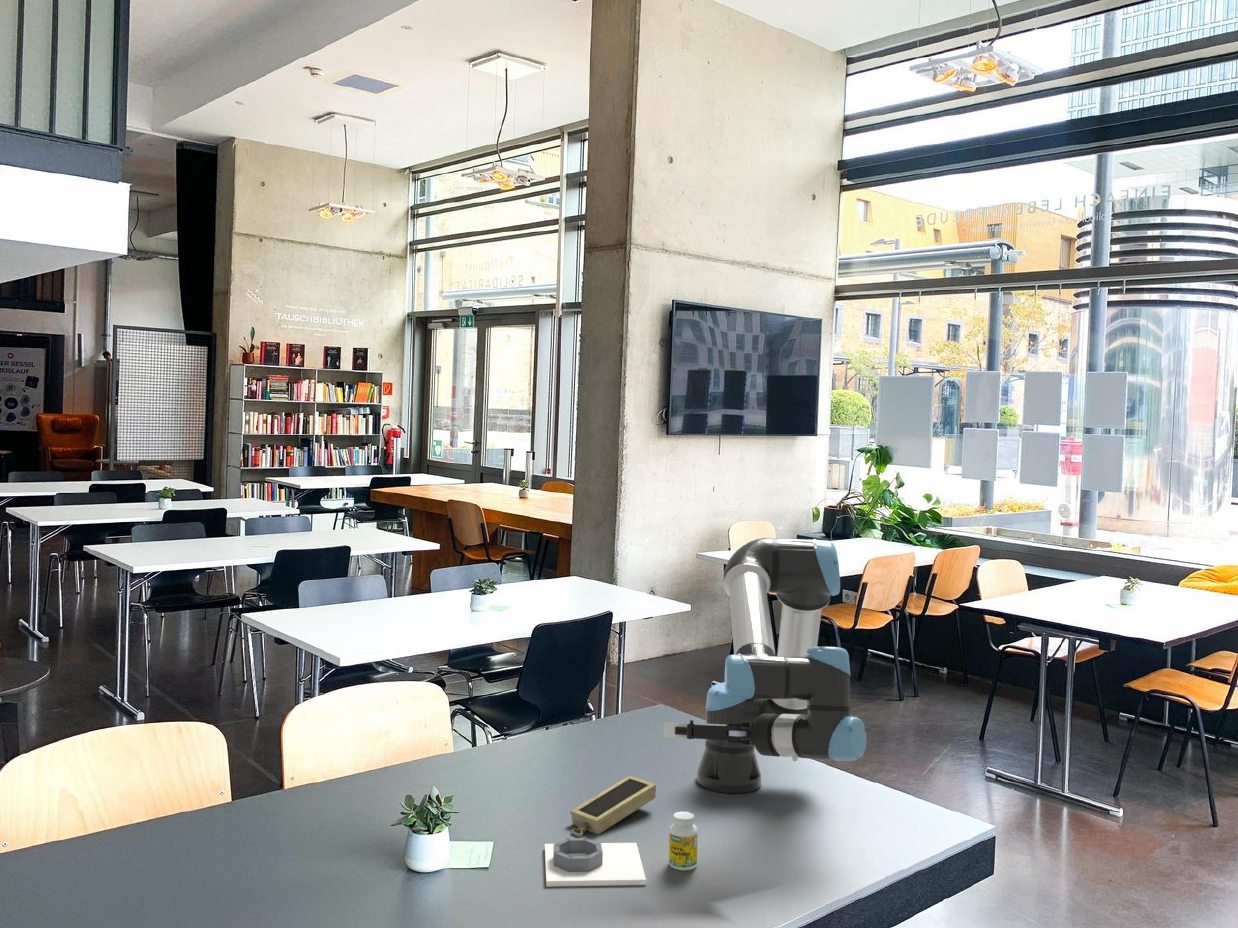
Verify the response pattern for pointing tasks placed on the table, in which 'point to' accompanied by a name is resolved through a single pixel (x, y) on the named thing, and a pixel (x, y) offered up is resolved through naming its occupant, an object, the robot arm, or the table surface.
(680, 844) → the supplement bottle
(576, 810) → the box
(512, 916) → the table surface
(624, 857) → the plate
